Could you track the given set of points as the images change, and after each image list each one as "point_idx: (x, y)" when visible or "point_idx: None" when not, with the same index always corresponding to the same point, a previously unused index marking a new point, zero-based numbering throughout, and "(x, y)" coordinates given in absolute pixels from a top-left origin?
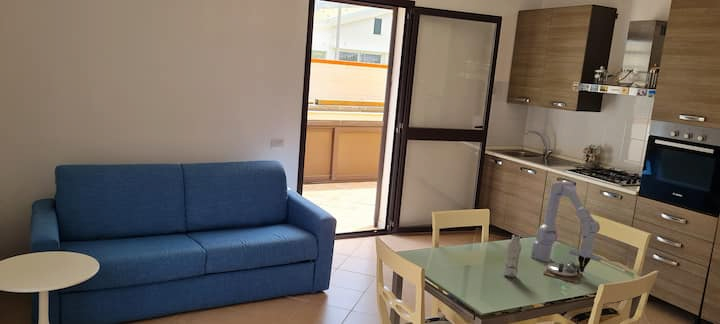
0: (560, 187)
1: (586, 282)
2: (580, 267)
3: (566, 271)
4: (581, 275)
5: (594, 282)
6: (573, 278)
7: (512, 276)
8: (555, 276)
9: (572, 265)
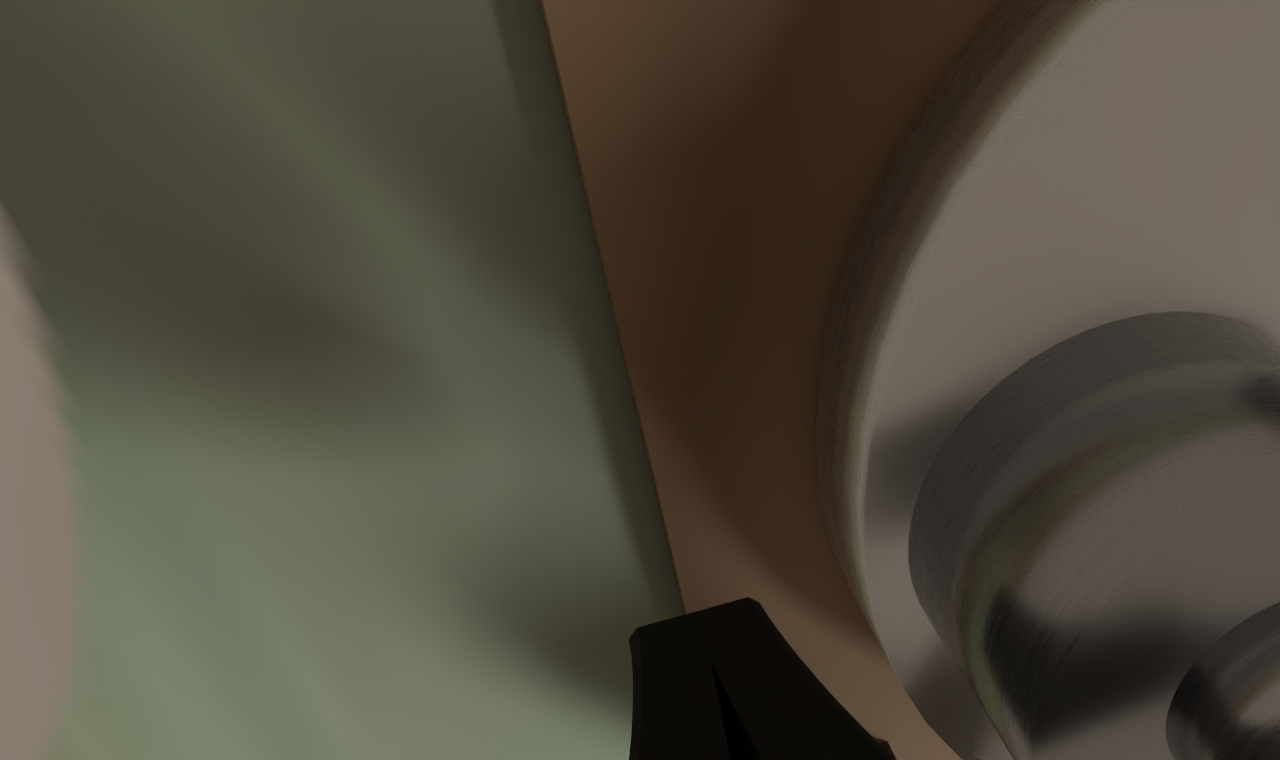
0: None
1: (329, 325)
2: (839, 722)
3: (1252, 219)
4: None
5: (160, 597)
6: (818, 127)
7: None
8: None
9: (1244, 627)
